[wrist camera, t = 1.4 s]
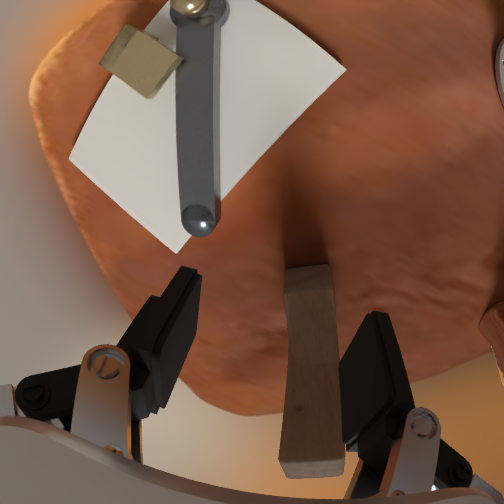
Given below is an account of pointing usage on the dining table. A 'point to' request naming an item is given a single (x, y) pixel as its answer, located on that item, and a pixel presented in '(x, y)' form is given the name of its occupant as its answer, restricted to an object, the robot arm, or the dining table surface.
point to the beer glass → (495, 333)
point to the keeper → (147, 53)
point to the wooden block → (311, 377)
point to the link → (199, 116)
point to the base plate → (231, 115)
